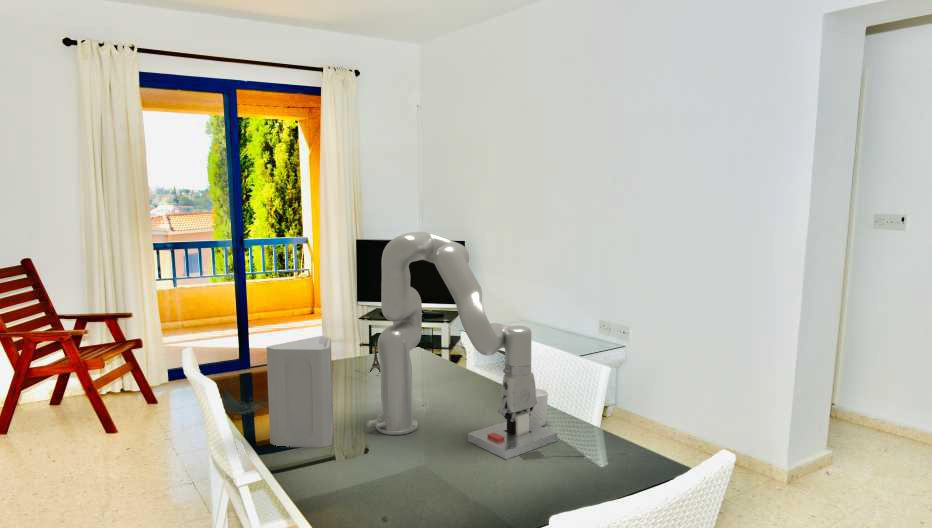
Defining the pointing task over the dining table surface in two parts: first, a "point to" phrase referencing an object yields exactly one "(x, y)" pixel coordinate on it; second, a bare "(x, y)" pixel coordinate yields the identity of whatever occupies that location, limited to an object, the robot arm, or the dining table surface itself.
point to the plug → (521, 423)
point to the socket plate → (511, 439)
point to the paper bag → (300, 393)
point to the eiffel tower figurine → (376, 361)
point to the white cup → (539, 408)
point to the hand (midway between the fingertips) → (517, 430)
